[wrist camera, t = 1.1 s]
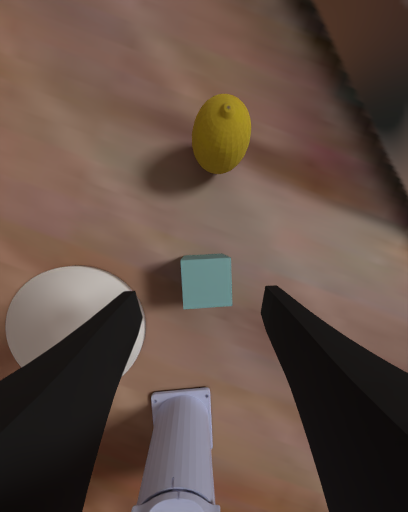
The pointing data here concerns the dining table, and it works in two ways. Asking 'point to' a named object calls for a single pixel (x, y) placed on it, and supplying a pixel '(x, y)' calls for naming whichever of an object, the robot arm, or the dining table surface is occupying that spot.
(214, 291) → the cube
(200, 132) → the lemon
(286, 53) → the dining table surface
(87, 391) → the robot arm
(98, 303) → the plate
